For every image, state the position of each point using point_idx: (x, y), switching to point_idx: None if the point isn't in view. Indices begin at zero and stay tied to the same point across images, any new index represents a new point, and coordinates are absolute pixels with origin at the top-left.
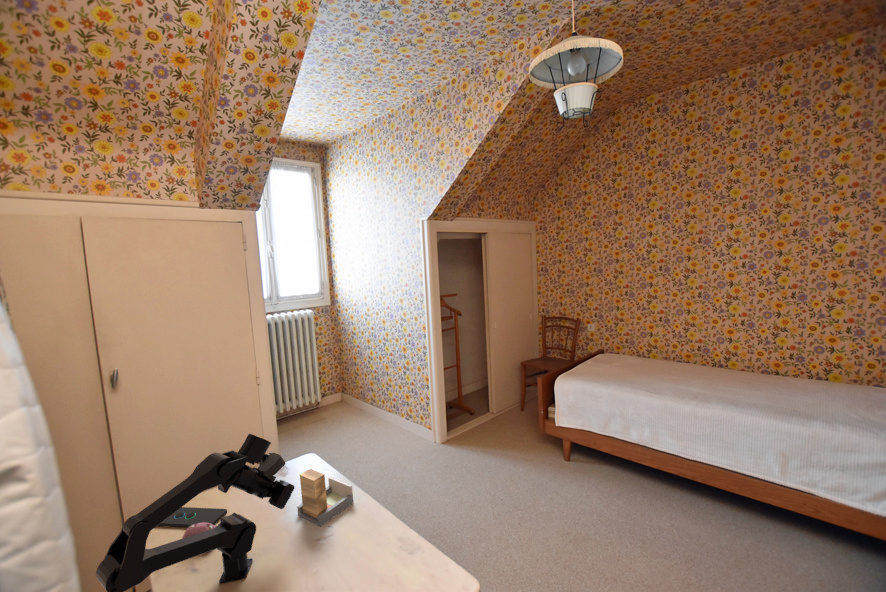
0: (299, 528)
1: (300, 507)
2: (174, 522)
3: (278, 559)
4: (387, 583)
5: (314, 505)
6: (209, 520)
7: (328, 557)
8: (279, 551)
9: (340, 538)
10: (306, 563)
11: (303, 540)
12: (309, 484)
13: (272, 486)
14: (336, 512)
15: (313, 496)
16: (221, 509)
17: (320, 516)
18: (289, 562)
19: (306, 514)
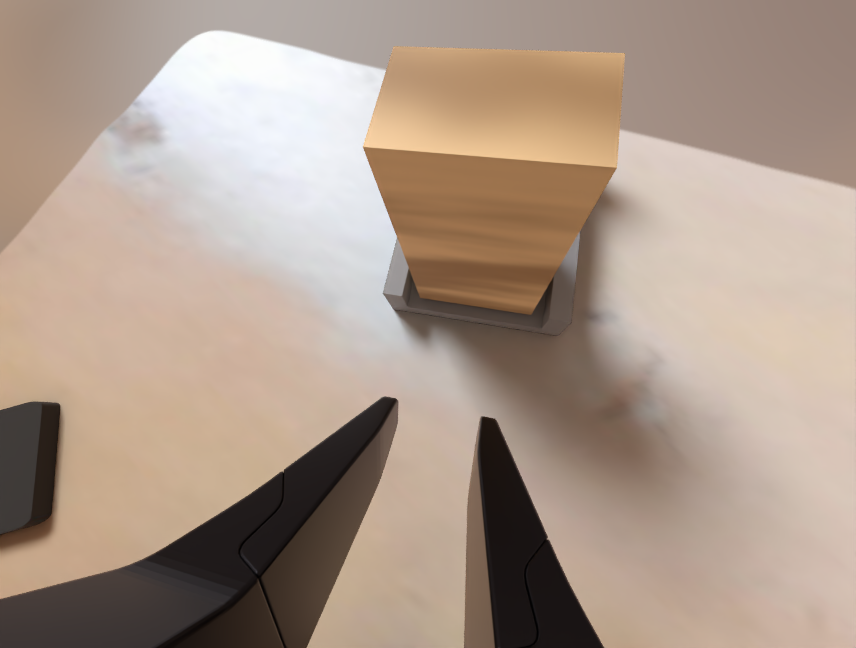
0: (467, 377)
1: (403, 292)
2: None
3: None
4: None
5: (529, 286)
6: (5, 496)
7: (780, 501)
8: None
9: (719, 367)
10: (707, 577)
11: (552, 439)
12: (513, 203)
13: (255, 620)
14: None
15: (538, 259)
16: (15, 411)
17: (568, 313)
18: (613, 600)
19: (442, 301)
